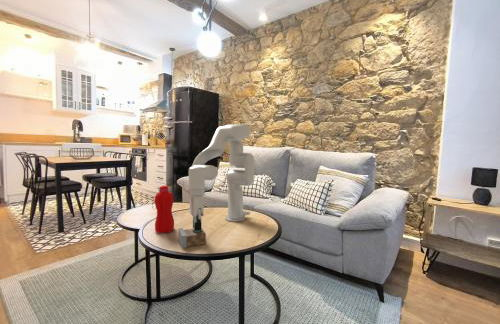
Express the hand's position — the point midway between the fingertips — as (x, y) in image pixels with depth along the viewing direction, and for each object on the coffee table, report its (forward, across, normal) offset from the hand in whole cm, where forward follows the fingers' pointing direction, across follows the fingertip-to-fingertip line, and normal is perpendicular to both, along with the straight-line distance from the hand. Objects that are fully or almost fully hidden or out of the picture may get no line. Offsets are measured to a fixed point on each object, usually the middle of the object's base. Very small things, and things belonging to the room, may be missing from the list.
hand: (197, 228), depth 115 cm
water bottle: (+7, -22, -14) cm, 27 cm away
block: (+7, 0, -1) cm, 7 cm away
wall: (+7, 0, -7) cm, 10 cm away
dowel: (+3, 0, 0) cm, 3 cm away
